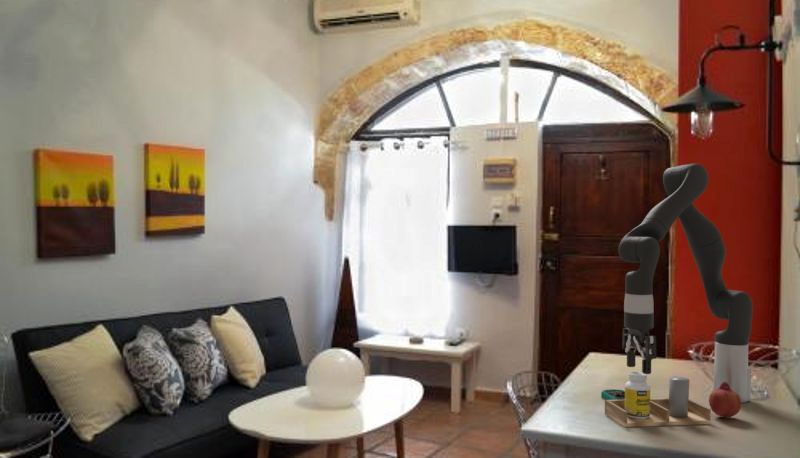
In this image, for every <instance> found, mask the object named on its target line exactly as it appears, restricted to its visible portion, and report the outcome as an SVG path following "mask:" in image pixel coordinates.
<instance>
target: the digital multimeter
mask: <svg viewBox="0 0 800 458" xmlns="http://www.w3.org/2000/svg"><path fill="white" fill-rule="evenodd" d="M600 394H601V396H600V397H601V398H602V399H603V400H604V401H605V400H624V399H625V390H624V389H603V390H602V391H601V393H600Z"/></svg>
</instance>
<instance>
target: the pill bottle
mask: <svg viewBox="0 0 800 458" xmlns="http://www.w3.org/2000/svg"><path fill="white" fill-rule="evenodd" d="M628 379H629V380H628V381H627V382H625V385H624V391H625V411H627V416H628V417H630V418H634V419H647V418H649V416H650V399H651V386H650V384H649V383H648V382H647V380H648V374H643V373H642V371H641V372H640V371H632V372H628Z"/></svg>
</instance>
